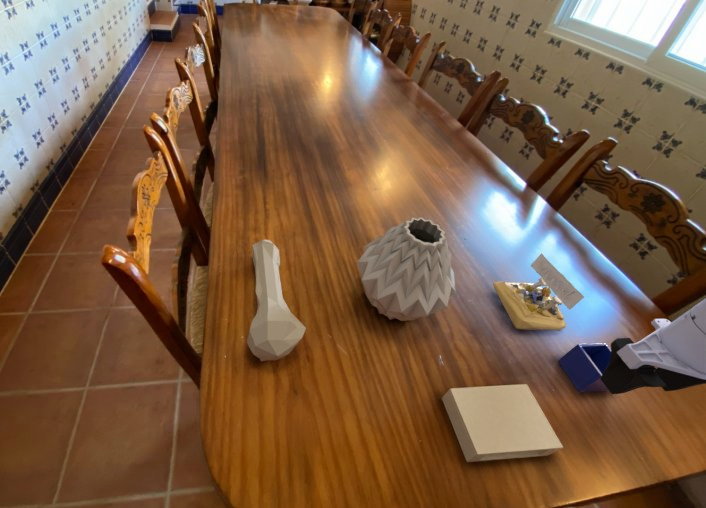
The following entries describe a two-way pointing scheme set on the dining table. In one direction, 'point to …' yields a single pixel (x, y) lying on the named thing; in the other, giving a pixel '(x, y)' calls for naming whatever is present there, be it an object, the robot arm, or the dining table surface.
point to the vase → (408, 270)
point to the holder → (586, 366)
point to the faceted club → (271, 308)
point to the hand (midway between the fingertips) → (634, 384)
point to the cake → (538, 298)
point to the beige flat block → (499, 423)
